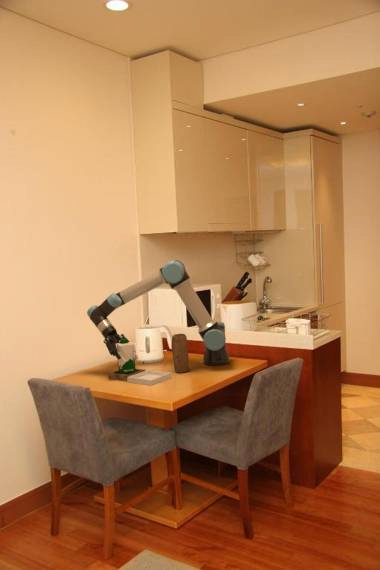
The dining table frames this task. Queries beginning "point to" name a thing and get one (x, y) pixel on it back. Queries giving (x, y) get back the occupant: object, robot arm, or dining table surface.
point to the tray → (149, 377)
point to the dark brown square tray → (123, 375)
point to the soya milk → (126, 357)
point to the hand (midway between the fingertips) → (130, 361)
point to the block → (180, 353)
